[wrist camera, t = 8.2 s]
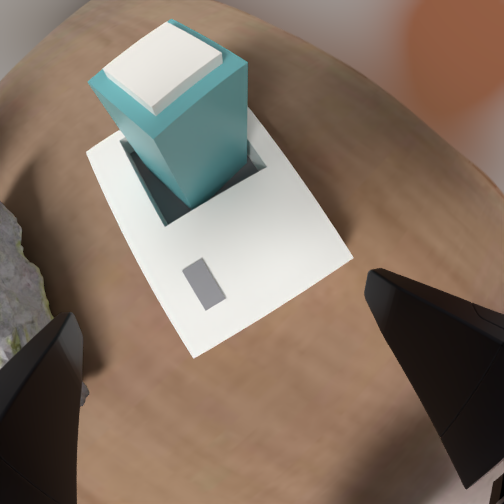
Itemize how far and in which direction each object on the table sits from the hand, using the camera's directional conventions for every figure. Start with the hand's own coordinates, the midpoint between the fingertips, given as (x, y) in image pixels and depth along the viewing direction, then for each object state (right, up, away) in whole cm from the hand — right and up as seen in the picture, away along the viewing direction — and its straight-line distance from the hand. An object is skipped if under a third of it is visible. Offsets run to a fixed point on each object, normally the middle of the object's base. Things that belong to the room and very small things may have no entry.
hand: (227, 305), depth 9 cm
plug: (-3, +7, +11) cm, 13 cm away
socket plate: (-2, +4, +11) cm, 12 cm away
